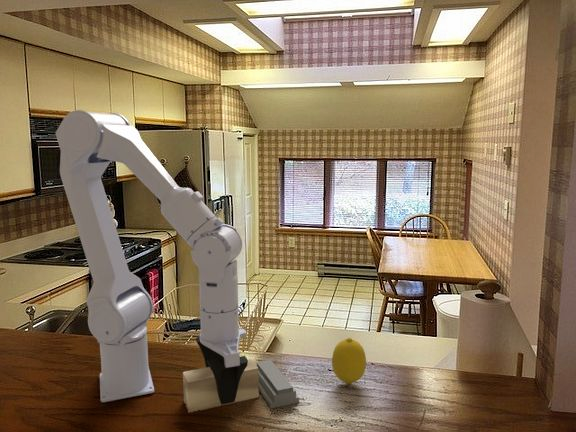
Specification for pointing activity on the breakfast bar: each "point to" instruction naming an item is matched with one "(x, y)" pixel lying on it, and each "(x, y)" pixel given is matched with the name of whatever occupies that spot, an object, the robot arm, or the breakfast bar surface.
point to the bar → (204, 390)
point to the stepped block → (275, 385)
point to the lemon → (349, 361)
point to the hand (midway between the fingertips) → (221, 390)
